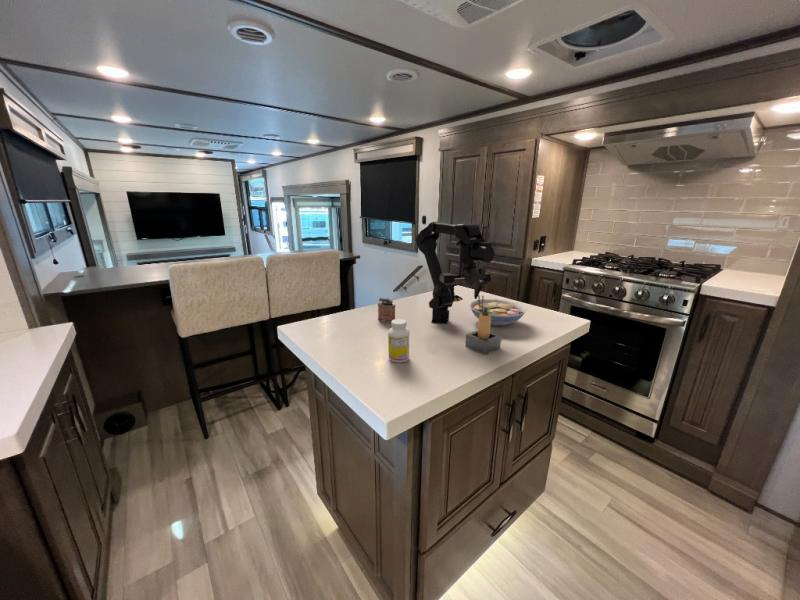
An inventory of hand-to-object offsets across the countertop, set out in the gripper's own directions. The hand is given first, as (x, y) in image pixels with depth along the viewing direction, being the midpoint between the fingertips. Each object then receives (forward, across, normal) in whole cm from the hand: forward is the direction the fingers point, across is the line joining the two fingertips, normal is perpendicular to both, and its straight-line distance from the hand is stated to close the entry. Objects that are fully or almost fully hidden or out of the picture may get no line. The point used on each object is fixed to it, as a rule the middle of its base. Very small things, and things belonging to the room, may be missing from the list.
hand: (464, 299), depth 120 cm
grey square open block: (+13, +2, -15) cm, 20 cm away
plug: (+13, +2, -15) cm, 20 cm away
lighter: (+13, -27, +17) cm, 35 cm away
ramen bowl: (+13, +17, +6) cm, 23 cm away
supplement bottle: (+13, -29, -18) cm, 37 cm away
